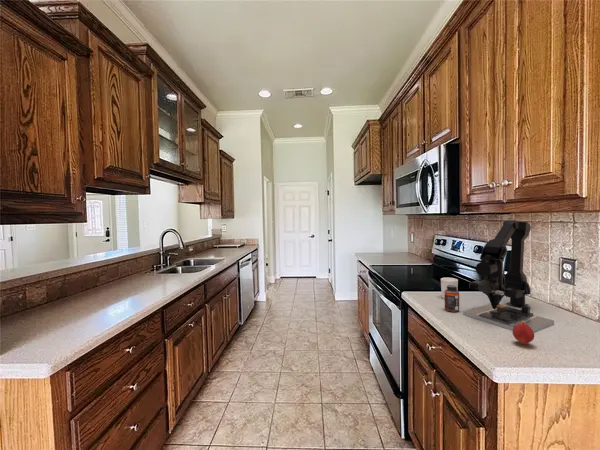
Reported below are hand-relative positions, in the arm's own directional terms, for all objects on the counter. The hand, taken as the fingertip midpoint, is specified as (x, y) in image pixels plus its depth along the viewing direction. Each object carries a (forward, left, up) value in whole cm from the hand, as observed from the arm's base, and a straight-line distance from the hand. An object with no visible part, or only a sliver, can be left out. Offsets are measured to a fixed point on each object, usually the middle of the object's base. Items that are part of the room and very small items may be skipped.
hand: (494, 308), depth 122 cm
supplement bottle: (+9, -13, -3) cm, 16 cm away
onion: (+19, +20, -3) cm, 27 cm away
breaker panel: (0, +5, -3) cm, 5 cm away
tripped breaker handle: (0, +3, -1) cm, 3 cm away
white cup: (-6, -25, -3) cm, 26 cm away
